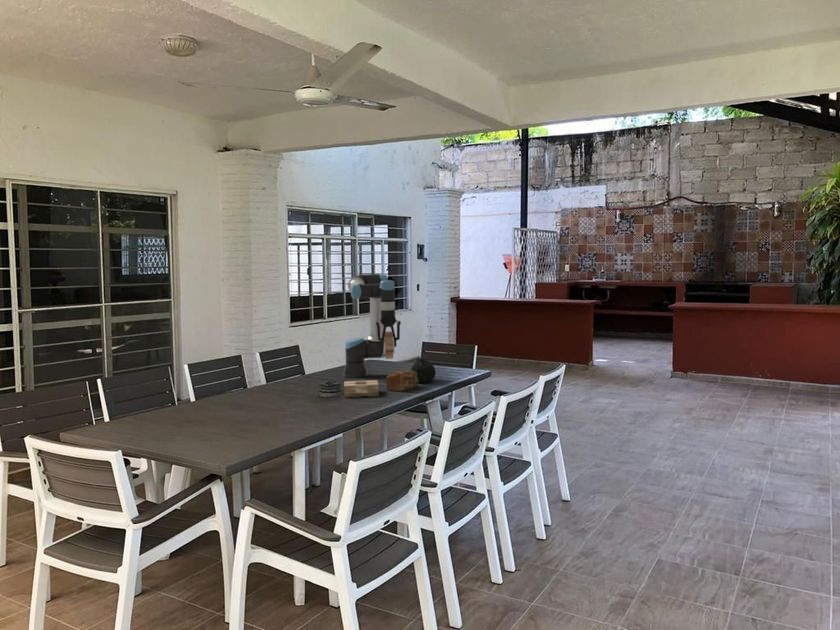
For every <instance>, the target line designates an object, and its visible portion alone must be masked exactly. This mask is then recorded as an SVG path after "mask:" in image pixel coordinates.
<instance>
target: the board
mask: <svg viewBox="0 0 840 630" xmlns="http://www.w3.org/2000/svg"><path fill="white" fill-rule="evenodd" d="M343 384H344V385H343V386H344V387H343V389H344V392H343V393H344V398H345V397H346V398H362V397H361V396H368V397H379V396H380V393H379V391H380V389H379V382H378V379H369V380H366V379H365V380H346V381H344V382H343Z"/></svg>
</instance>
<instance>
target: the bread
mask: <svg viewBox="0 0 840 630" xmlns="http://www.w3.org/2000/svg"><path fill="white" fill-rule="evenodd" d="M385 378H386V379H385V384H386V390H388V391H391V390H392V392H402V391H407V390H410V389H413V388H414V387H417V386H418V384H419V383H418V373H417V372H415V371H412V370H411V369H405V370H398V371H394V372H392V373H390V374H388V375H387V376H386V377H385ZM412 387H413V388H412ZM409 388H410V389H409ZM406 389H407V390H406Z"/></svg>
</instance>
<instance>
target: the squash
mask: <svg viewBox="0 0 840 630" xmlns="http://www.w3.org/2000/svg"><path fill="white" fill-rule="evenodd" d="M410 370H412V371H415V372H417V373H418V384H421V383H424V384H427V383H431V382H433V380H434V379H435V377H436V374H437V373H436V369H435V366H434V365H433V364H432V363H431V362H430V361H428V360H426V359H424V358H421V357H420V358H418V359H417V360H416V361H415V362H414V363H413V365H412V366H411V369H410Z"/></svg>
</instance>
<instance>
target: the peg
mask: <svg viewBox="0 0 840 630" xmlns="http://www.w3.org/2000/svg"><path fill="white" fill-rule="evenodd" d="M393 341H394V339H393V332H392V331H386V332H385V352H386V354H385V357H384V359H387V360H389V359H394V353H393Z"/></svg>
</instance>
